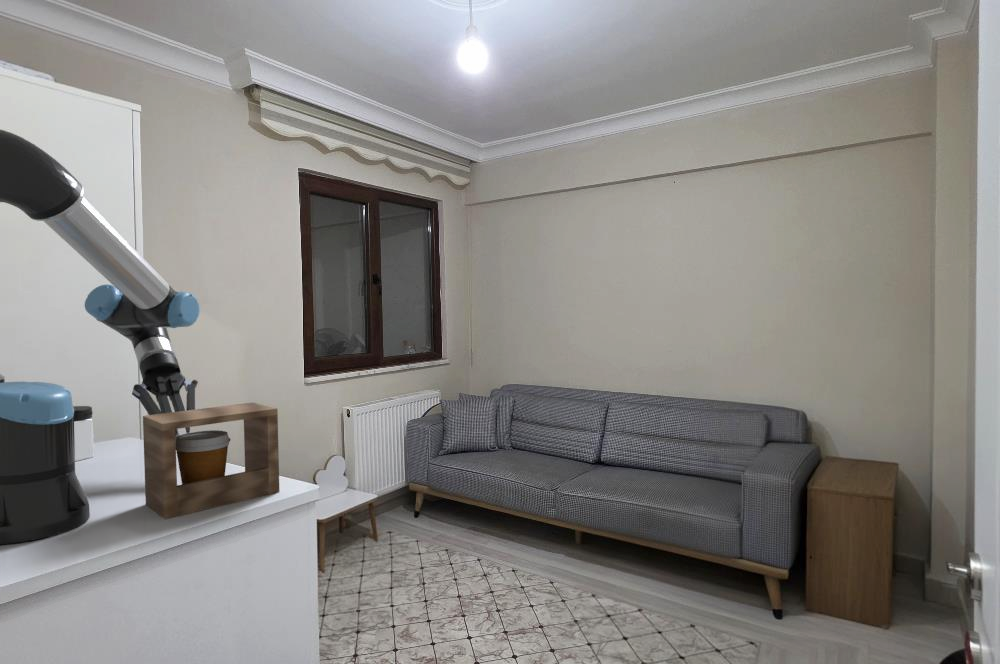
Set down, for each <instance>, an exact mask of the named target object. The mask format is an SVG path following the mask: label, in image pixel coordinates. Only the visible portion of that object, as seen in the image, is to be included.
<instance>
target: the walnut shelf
mask: <svg viewBox="0 0 1000 664" xmlns="http://www.w3.org/2000/svg"><path fill="white" fill-rule="evenodd" d="M278 413H279V412H278V408H277V407H273V406H268V405H264V404H261V403H258V402H257V403H256V402H245V403H239V404H238V403H237V404H230V405H229V404H228V405H221V406H215V407H214V406H213V407H206V408H205V407H204V408H197V409H196V408H195V410H187V411H186V410H185V411H179V412H175V411H172V412H171V413H162V414H154V415H149V414H148V415H143V416H142V434H143V459H144V460H143V461H144V463H143V464H144V487H145V489H144V490H145V491H144V493H145V505H146V506H147V507H148V508H150V509H151V510H153V511H154V512H155V513H156V514H157V515H159V516H160V517H162V518H163V519H164V520H166V519H171V518H176V517H179V516H183V515H188V514H192V513H197V512H201V511H204V510H209V509H213V508H217V507H221V506H226V505H230V504H233V503H237V502H241V501H242V500H243V501H246V499H247V500H251V499H255V498H259V497H258V496H260V497H263V496H262V495H264V496H267V495H266V494H268V495H271V493H272V494H276V493H279V492H280V464H279V462H280V459H279V423H278V422H279V420H278V419H279V417H278V415H279V414H278ZM237 421H243V438H244V440H243V441H244V443H243V444H244V471H240V472H237V473H231V474H227V475H226V474H225V476H221V477H216V478H212V479H207V480H202V481H197V482H192V483H187V484H182V483H181V484H179V485H178V475H177V474H178V473H177V468H178V467H177V452H176V436H175V429H180V428H187V427H190V428H192V427H193V428H194V427H200V426H207V425H215V424H222V423H229V422H237ZM278 491H279V492H278ZM275 492H276V493H275ZM254 497H255V498H254ZM250 498H251V499H250ZM243 501H242V502H243Z"/></svg>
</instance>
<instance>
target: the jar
mask: <svg viewBox="0 0 1000 664" xmlns="http://www.w3.org/2000/svg"><path fill="white" fill-rule="evenodd" d="M73 407H74V441H75V463H77V462H78V461H84V460H88V459H93V458H94V456H95V455H94V454H95V453H94V452H95V451H94V439H95V438H94V428H93V427H94V426H93V425H94V424H93V423H94V422H93V408H92V406H89V405H78V406H77V405H76V406H75V405H74V406H73Z"/></svg>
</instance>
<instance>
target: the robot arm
mask: <svg viewBox="0 0 1000 664" xmlns="http://www.w3.org/2000/svg"><path fill="white" fill-rule="evenodd" d="M84 191H85V189H84V186H83V185H82V183H81V182H80V181H79V180H78V179H77V178H76V177H75V176H74V175H73V174H72V173H71V172H70V171H69V170H68V169H67V168H65V166H64V165H62V164H61V163H60V162H59V161H58V160H56V159H55V158H53V157H52V156H51V155H50V154H48V153H47V152H46V151H45V150H43V149H42V148H40V147H39V146H37V145H36V144H34V143H32V142H30V141H29V140H27V139H25V138H24V137H21V136H19V135H17V134H15V133H13V132H11V131H7V130H4V129H0V203H5V204H7V205H11V206H14V207H16V208H18V209H19V210H21V211H22V212H23V213H24V214H25V215H27V216H28V217H29V219H32V220H33V221H37V222H38V221H39V222H44V223H45V224H46V225H47V226H48V227H49V228H50V229H52V231H54V232H55V233H56V234H57V235H58V236H59V237H60V238H61V239H62V240H63V241H65V242H66V243H67V244H68V245H69V246H70V247H71V248H72V249H73V250H75V252H76V253H78V255H80V256H81V257H82V258H83V259H84V260H85V261H86V262H87V263H89V264H90V265H91V267H93V268H94V269H95V270H96V271H97V272H98V273H100V275H102V277H104V279H106V280H107V281H108V282H109V283H110V284H102V285H99V286H96V287H95V288H93V289H92V290H91V291H89V293H88V294H87V296H86V298H85V301H84V309H85V311H86V312H87V313H88V314H89V316H90V315H91V316H92V317H93V318H95V319H96V320H97V321H98V322H99V323H102V324H104V325H106V326H107V327H109V328H110V329H112V330H114V331H115V332H117V333H119V334H120V335H121V336H123V337H125V338H126V339H128V340H129V341H130V342H131V344H132V346H133V350H134V354H135V356H136V360H137V364H138V367H139V371H140V374H141V378H142V382H141V383H140V384H137V383H136V384H134V385H133V388H132V391H131V392H132V393H131V395H132V396H133V397H135V399H138V400H139V402H140V403H141V405H142V406H143V407H144V409H145V410H146V412H147V414H148V415H154V414H162V413H171V412H179V411H187V410H195V409H196V389H197V386H198V384H199V382H198V380H197V379H192V381H190V380H188V379H186V377H185V375H183V373H182V371H181V367H180V364H179V361H178V358H177V357H176V356H177V355H176V352H175V349H174V347H173V344H172V341H171V338H170V336H169V333H168V329H167V328H169V329H170V328H172V329H176V328H187V327H191V326H192V325H194V324H195V323H196V322H197V320H198V317H199V316H200V303H199V301H198V299H197V298H196V296H195V295H194V294H192V293H190V292H185V291H175V290H174V288H173V287H172V286H171V285H170V284H169V283H168V282H167V281H166V280H165V279H164V278H163V277H162V276H161V275H160V273H158V272H157V270H155V269H154V267H153V266H151V264H150V263H149V262H148V261H147V260H146V259H145V258H144V257H143V256H142V255H141V254H140V253H139V252H138V251H137V250H136V248H134V247H133V245H132V244H131V243H130V242H129V241H128V240H127V239H126V238H125V237H124V236H123V235H122V234H121V233H120V232H119V231H118V230H117V229H116V228H115V227H114V226H113V224H111V222H110V221H108V219H106V218H105V216H104V215H103V214H102V213H101V212H100V211H99V210H98V209H97V208H96V207H95V206H94V205H93V204H92V203H91V202H90V200H88V199H87V197H86V196H84ZM183 386H184V390H185V392H186V406H184V402H183V399H182V396H181V394H180V391H181V389H182V388H183ZM149 392H150V393H151V394H152V395H154V396H155V398H156V402H157V403H158V405H159V406H158V405H157V404H156V402H155V400H154V399H153V397H152V396H151V394H150V393H149ZM169 400H170V401H169ZM170 402H171V404H172V407H173V410H172V407H171V404H170ZM185 407H186V409H185ZM190 431H191V427H187V428H180V429H175V436H176V437H177V436H179V435H182V434H186V433H191V432H190ZM90 515H91V514H90V503H89V500H88V499H87V496H86V494H85V492H84V490H83V487H82V485H81V484H80V481H79V478H78V475H77V474H76V462H75V441H74V407H73V397H72V393H71V391H70V390H69V389H68V388H67V387H65V386H63V385H62V384H58V383H57V384H56V383H52V382H43V381H7V382H6V381H5V376H4V375H2V373H0V545H6V544H7V545H9V544H16V543H17V544H18V543H23V542H28V541H34V540H39V539H43V538H47V537H52V536H55V535H58V534H61V533H64V532H68V531H70V530H73V529H75V528H77V527H79V526H81V525H83V524H85V523H86V522H87V521H88V520H89V518H90Z"/></svg>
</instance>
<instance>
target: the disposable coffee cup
mask: <svg viewBox="0 0 1000 664" xmlns="http://www.w3.org/2000/svg"><path fill="white" fill-rule="evenodd" d="M230 442H231V438H230V437H229V432H227V431H225V430H224V431H223V430H198V431H191V432H189V433H186V434H182V435H179V436H177V437H176V459H177V463H178V468H179V474H180V480H181V481H180V482H181V485H182V484H187V483H192V482H197V481H202V480H207V479H212V478H216V477H221V476H226V468H227V467H226V466H227V458H228V449H229V444H230Z"/></svg>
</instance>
